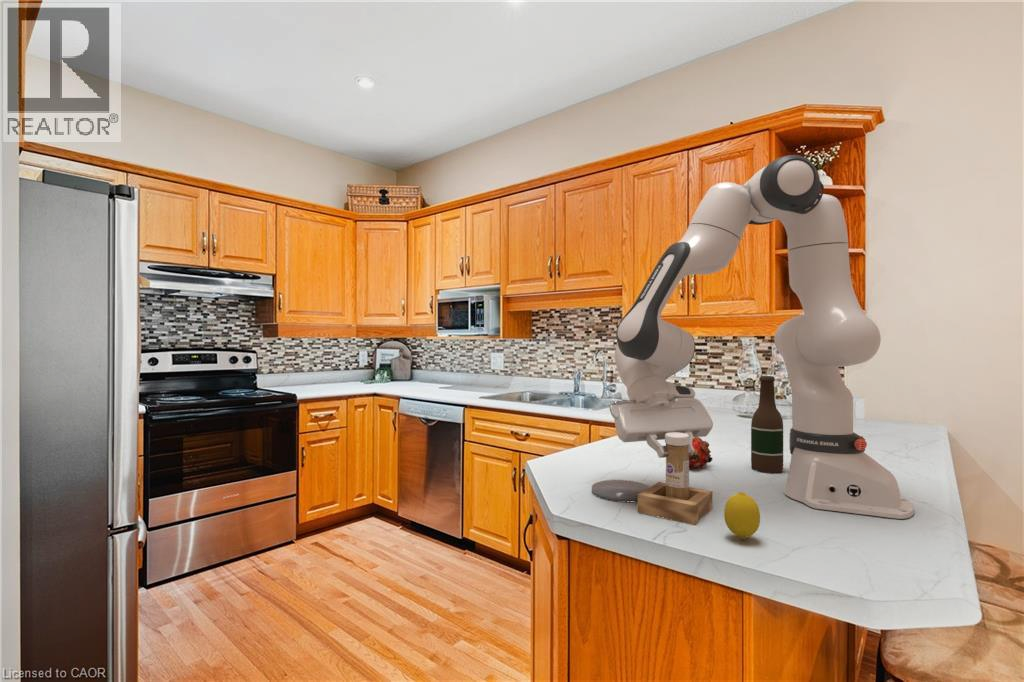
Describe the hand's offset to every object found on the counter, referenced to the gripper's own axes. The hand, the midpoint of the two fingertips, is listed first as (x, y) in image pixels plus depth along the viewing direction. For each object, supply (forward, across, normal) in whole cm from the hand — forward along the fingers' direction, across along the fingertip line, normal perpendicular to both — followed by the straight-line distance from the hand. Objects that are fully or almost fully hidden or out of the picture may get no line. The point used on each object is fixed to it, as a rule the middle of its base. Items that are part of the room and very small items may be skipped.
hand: (677, 455), depth 102 cm
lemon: (+19, +3, -3) cm, 19 cm away
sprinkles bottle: (+7, 0, +7) cm, 9 cm away
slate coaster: (-2, -6, +17) cm, 18 cm away
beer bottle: (-8, +39, +24) cm, 46 cm away
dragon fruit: (-13, +22, +29) cm, 39 cm away
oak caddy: (+8, -1, +8) cm, 11 cm away
